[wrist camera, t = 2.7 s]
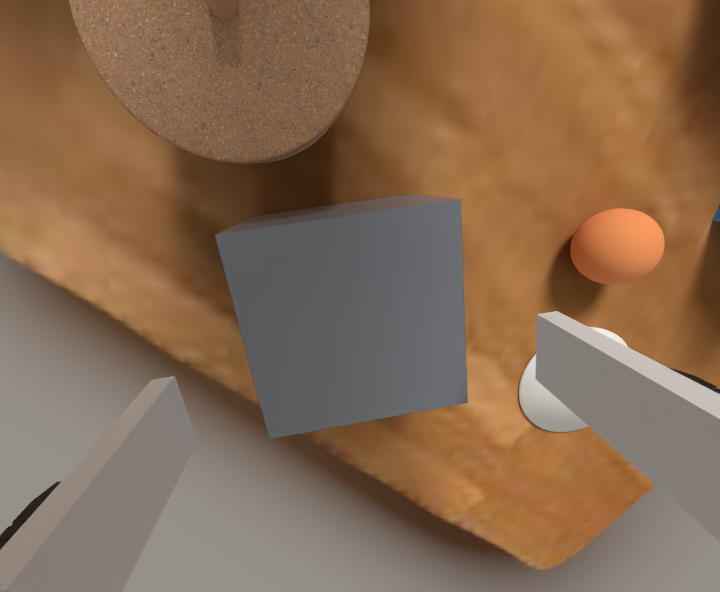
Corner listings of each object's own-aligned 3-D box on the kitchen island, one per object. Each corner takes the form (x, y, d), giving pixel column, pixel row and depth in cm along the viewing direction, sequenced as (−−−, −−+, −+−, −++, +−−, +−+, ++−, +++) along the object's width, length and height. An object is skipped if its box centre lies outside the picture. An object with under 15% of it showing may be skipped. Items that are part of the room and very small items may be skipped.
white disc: (519, 338, 27) (521, 339, 27) (638, 317, 28) (640, 318, 27) (517, 439, 30) (518, 441, 30) (623, 419, 31) (625, 420, 31)
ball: (556, 211, 24) (613, 218, 19) (622, 201, 24) (694, 205, 20) (552, 279, 26) (604, 300, 21) (614, 268, 26) (680, 287, 21)
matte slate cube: (254, 215, 22) (214, 234, 14) (409, 193, 23) (460, 199, 14) (286, 355, 25) (269, 439, 17) (420, 332, 26) (467, 402, 18)
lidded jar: (275, -95, 18) (229, -382, 9) (386, 102, 21) (435, 42, 12) (116, 36, 18) (-72, -101, 10) (247, 205, 22) (198, 219, 13)
